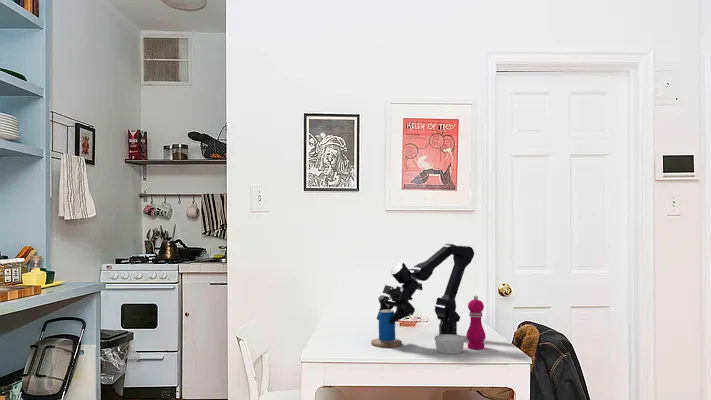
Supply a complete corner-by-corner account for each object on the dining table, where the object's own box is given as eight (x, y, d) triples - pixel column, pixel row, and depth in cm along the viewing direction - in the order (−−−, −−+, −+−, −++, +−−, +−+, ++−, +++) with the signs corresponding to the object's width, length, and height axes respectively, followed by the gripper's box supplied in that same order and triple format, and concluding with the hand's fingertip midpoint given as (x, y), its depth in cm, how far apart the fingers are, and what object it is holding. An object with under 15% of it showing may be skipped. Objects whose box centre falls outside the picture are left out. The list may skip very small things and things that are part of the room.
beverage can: (398, 340, 222) (398, 310, 223) (388, 344, 218) (388, 312, 218) (385, 338, 227) (385, 308, 227) (375, 341, 222) (375, 311, 222)
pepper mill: (481, 351, 211) (481, 297, 212) (463, 348, 215) (463, 296, 216) (488, 347, 217) (488, 295, 218) (470, 344, 221) (470, 293, 222)
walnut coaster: (396, 339, 229) (396, 337, 229) (405, 346, 217) (405, 344, 217) (368, 341, 227) (368, 338, 227) (375, 348, 215) (375, 345, 215)
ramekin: (446, 356, 203) (446, 342, 203) (428, 350, 213) (428, 336, 213) (471, 353, 208) (471, 338, 209) (451, 346, 218) (451, 333, 218)
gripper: (382, 275, 233) (359, 304, 227) (408, 280, 217) (384, 311, 211) (397, 293, 236) (375, 322, 231) (424, 299, 220) (401, 330, 215)
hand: (383, 321), depth 222 cm, fingers open, 9 cm apart
